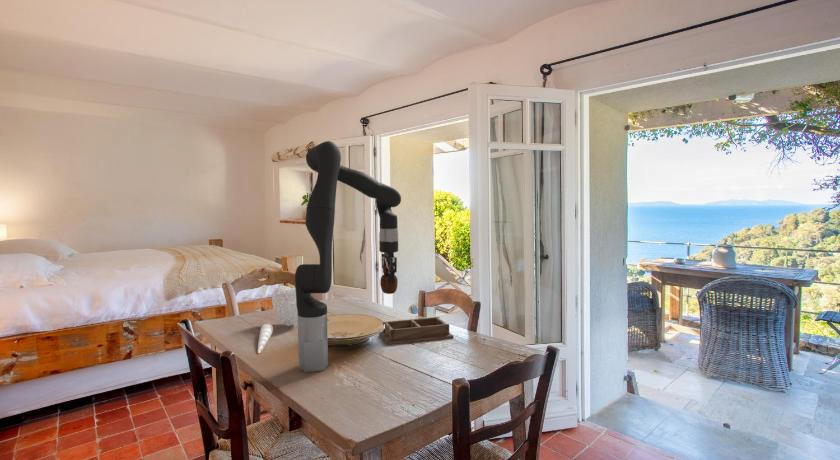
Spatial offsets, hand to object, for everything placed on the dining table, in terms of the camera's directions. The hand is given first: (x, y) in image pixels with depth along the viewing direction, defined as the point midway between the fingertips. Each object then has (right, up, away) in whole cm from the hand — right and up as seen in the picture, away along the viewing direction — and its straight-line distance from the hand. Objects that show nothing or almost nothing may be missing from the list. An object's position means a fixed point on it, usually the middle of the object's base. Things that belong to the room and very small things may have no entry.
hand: (389, 281), depth 163 cm
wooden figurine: (0, -5, 0) cm, 5 cm away
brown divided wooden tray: (+11, -22, +1) cm, 24 cm away
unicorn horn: (-47, -23, -7) cm, 53 cm away
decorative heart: (-45, -21, +15) cm, 52 cm away
